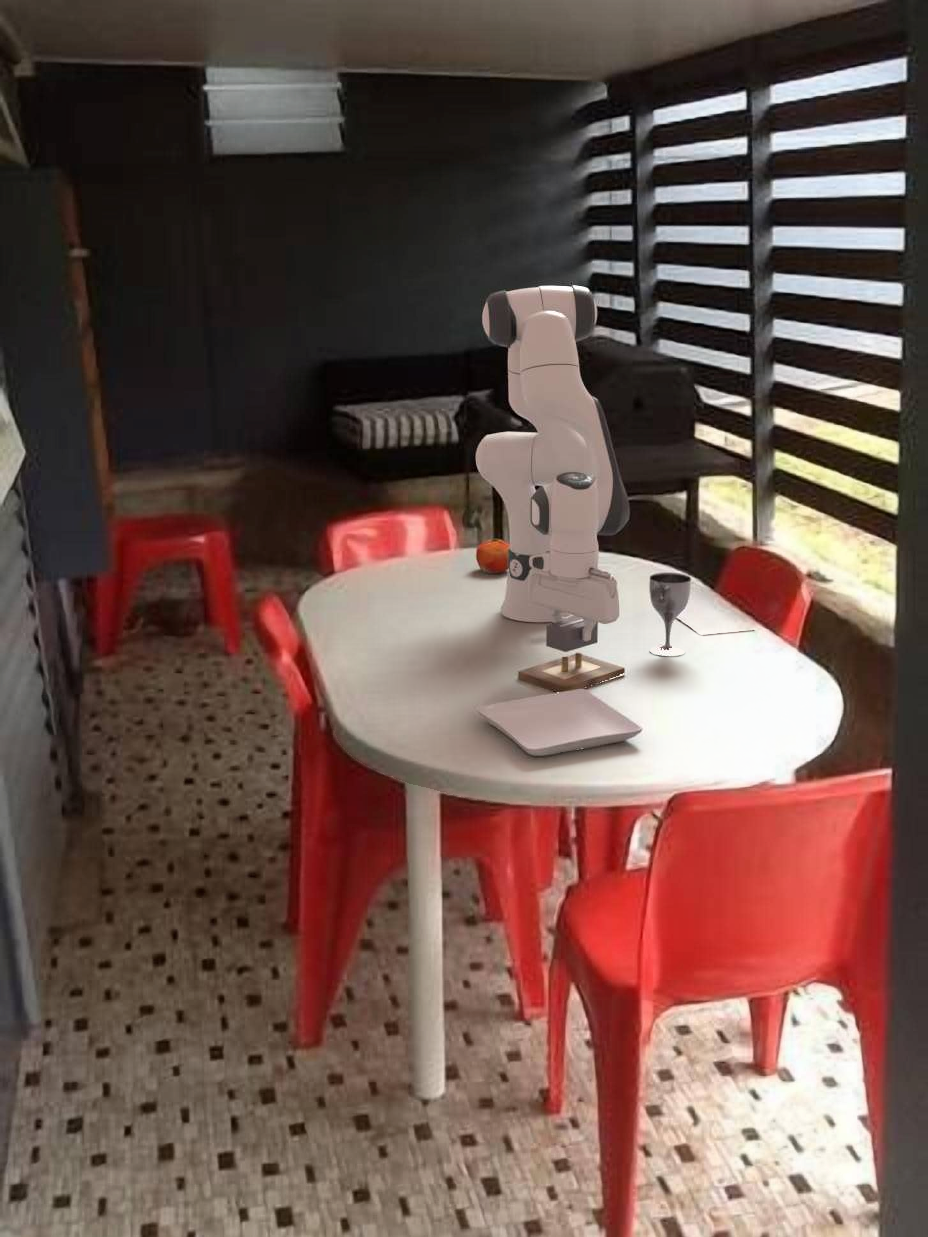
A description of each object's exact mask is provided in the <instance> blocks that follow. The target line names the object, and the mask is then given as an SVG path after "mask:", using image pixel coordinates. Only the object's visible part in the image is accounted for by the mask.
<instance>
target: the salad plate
mask: <svg viewBox="0 0 928 1237" xmlns="http://www.w3.org/2000/svg"><path fill="white" fill-rule="evenodd" d="M475 710H476V712H477V713H478V715H479V716H480V718H482V719H484V720H485V721H486V722H487V723H489V724H490V725H492V727H495V728H497V729H498V730H499V731H500V732H501V733H503V734H505V735H506V737H508V738H510V739H511V740H512V742H514V743H516V744H517V745H518V746H520V748H522V749H523V750H524V751H525V752H526V753H527V754H528V755H531V756H536V757H542V756H549V755H551V756H552V755H556V753H557V754H561V753H560V752H563V753H567V752H566V751H569V752H572V751H571V750H574V751H578V750H577V749H580V750H582V749H581V748H586V749H589V748H588V747H591V748H594V747H593V746H596V747H599V746H598V745H601V746H604V745H603V744H606V745H609V744H608V743H611V744H615V743H619V742H624V741H627V740H631V739H632V738H634V737H636V736H637V735H640V733H641V732H642V731H643V727H642V726H641V725H639V724H638V723H637V722H636V721H634V720H632V719H630V718H629V717H627V716H626V715H625V714H623V713H622V712H620V711H618V710H617V709H615V708H614V707H613V706H611V705H609V704H608V703H607V702H605V701H603V700H602V699H601V698H599V697H598V696H596V695H594V694H592V693H591V692H590V691H588V690H586V688H585V689H577V690H571V691H565V692H559V693H557V692H553V693H547V694H546V693H545V694H542V695H535V696H530V697H525V698H518V699H512V700H508V701H502V702H496V703H489V704H486V705H480V706H477V707H476V709H475ZM614 742H615V743H614Z"/></svg>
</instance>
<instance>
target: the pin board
mask: <svg viewBox="0 0 928 1237" xmlns="http://www.w3.org/2000/svg"><path fill="white" fill-rule="evenodd" d="M625 671H626V670H625V667H624V666H620V665H617V664H614V663H611V662H608V661H605V660H602V659H599V658H595V657H592V656H589V655H586V654H583V653H582V652H576V653H573V654H570V655H567V656H566V655H565V656H562V657H560V658H557V659H554V660H551V661H550V660H549V661H547V662H544V663H540V664H538V665H534V666H531V667H528V668H524V669H521V670H517V673H518V674H517V679H518V680H521V681H524V682H526V683H529V684H531V683H532V684H531V685H535V686H538V687H540V688H542V689H546V690H548V689H549V691H551V690H552V691H551V692H553V693H557V692H565V691H571V690H577V689H584V688H585V687H588V688H591V687H592V686H591V685H594V686H596V685H595V684H597V683H600V682H602V681H605V680H609V679H610V678H613V677H616V676H619V675H620V674H623V673H625ZM625 674H626V673H625ZM609 681H610V680H609ZM600 684H601V683H600ZM597 685H598V684H597ZM590 686H591V687H590ZM585 689H586V688H585Z"/></svg>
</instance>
